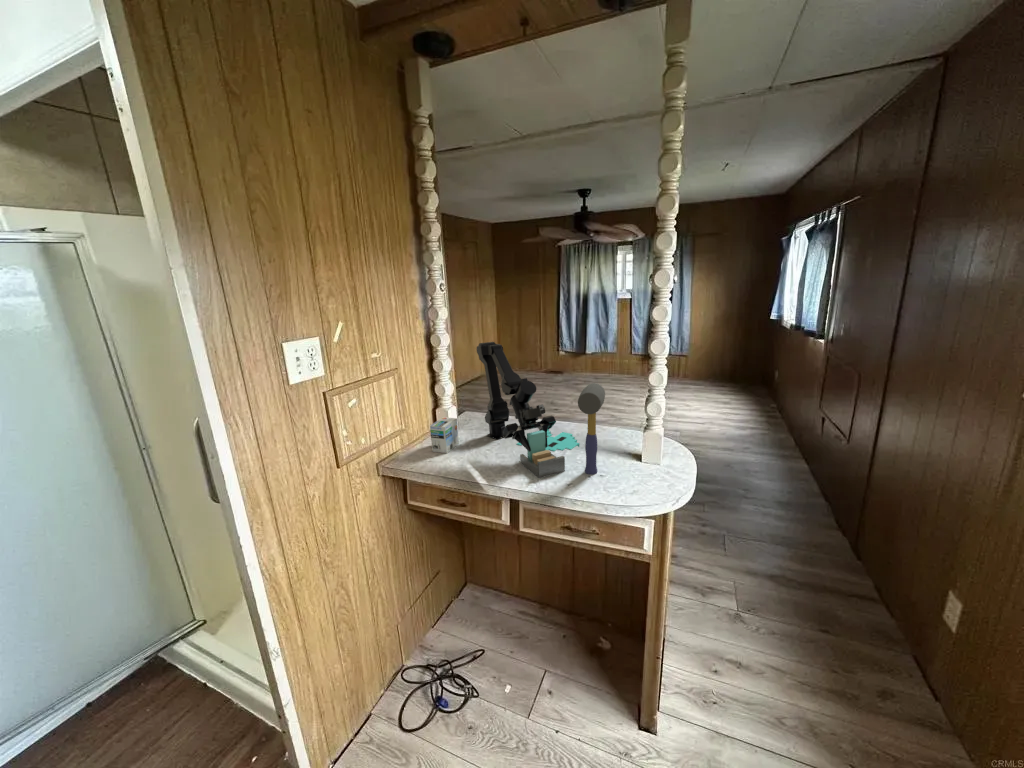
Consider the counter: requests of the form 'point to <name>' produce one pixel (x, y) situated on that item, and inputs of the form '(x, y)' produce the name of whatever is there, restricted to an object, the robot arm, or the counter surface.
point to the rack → (544, 466)
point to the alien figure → (560, 441)
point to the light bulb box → (444, 434)
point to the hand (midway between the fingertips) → (538, 449)
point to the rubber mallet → (591, 421)
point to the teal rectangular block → (536, 442)
